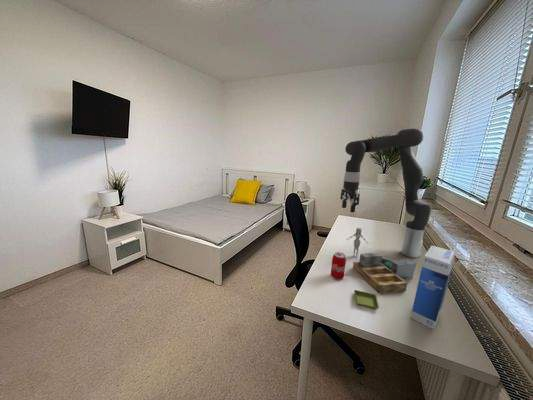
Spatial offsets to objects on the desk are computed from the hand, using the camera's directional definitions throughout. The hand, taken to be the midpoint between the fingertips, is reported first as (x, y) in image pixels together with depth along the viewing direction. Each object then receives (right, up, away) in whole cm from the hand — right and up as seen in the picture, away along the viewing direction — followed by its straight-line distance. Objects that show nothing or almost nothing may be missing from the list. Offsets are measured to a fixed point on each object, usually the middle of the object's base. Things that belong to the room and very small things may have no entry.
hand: (347, 209), depth 116 cm
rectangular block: (+23, -33, -10) cm, 41 cm away
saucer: (-4, -37, -28) cm, 47 cm away
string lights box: (+17, -39, -35) cm, 55 cm away
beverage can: (-10, -33, -11) cm, 36 cm away
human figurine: (+8, -28, +9) cm, 31 cm away
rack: (+10, -33, -12) cm, 37 cm away
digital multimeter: (+18, -31, +3) cm, 36 cm away
